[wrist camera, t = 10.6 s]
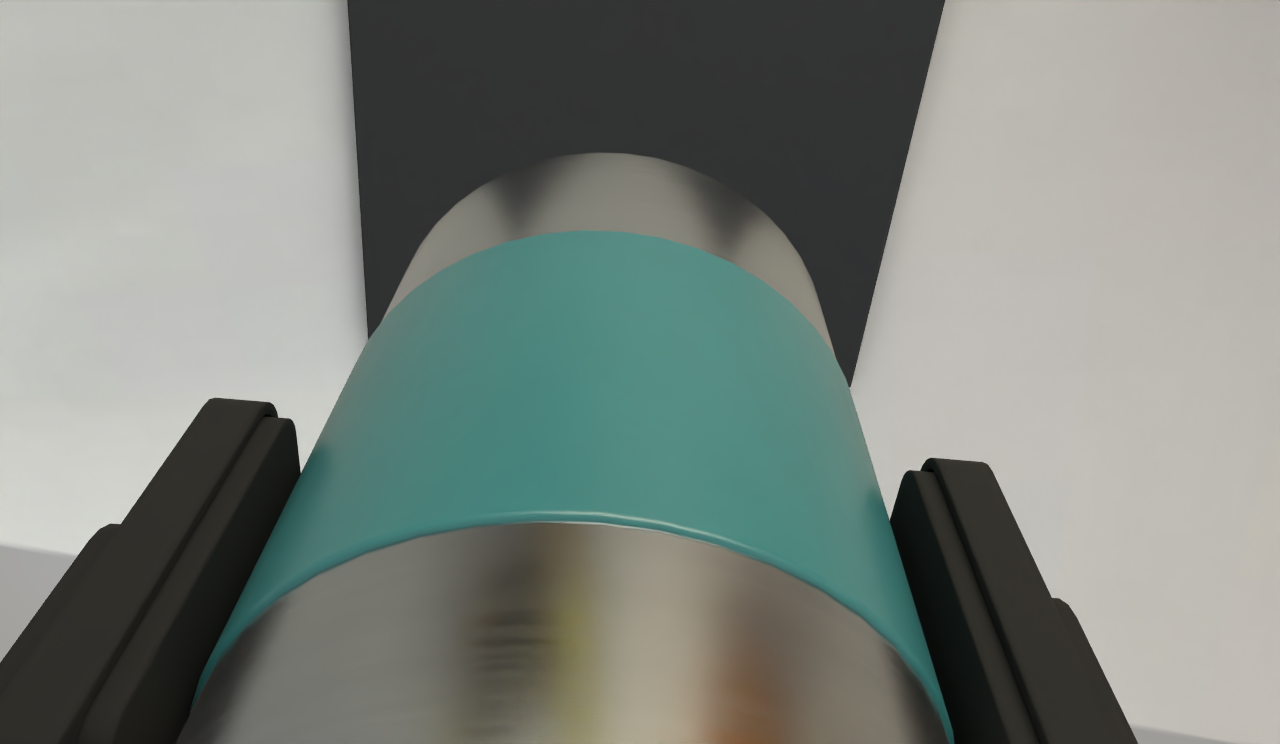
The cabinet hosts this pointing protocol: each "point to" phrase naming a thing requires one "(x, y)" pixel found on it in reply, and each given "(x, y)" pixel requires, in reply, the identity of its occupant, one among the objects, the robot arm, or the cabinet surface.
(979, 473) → the robot arm
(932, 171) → the cabinet surface
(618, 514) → the can
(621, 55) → the mat
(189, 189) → the cabinet surface
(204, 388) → the cabinet surface
